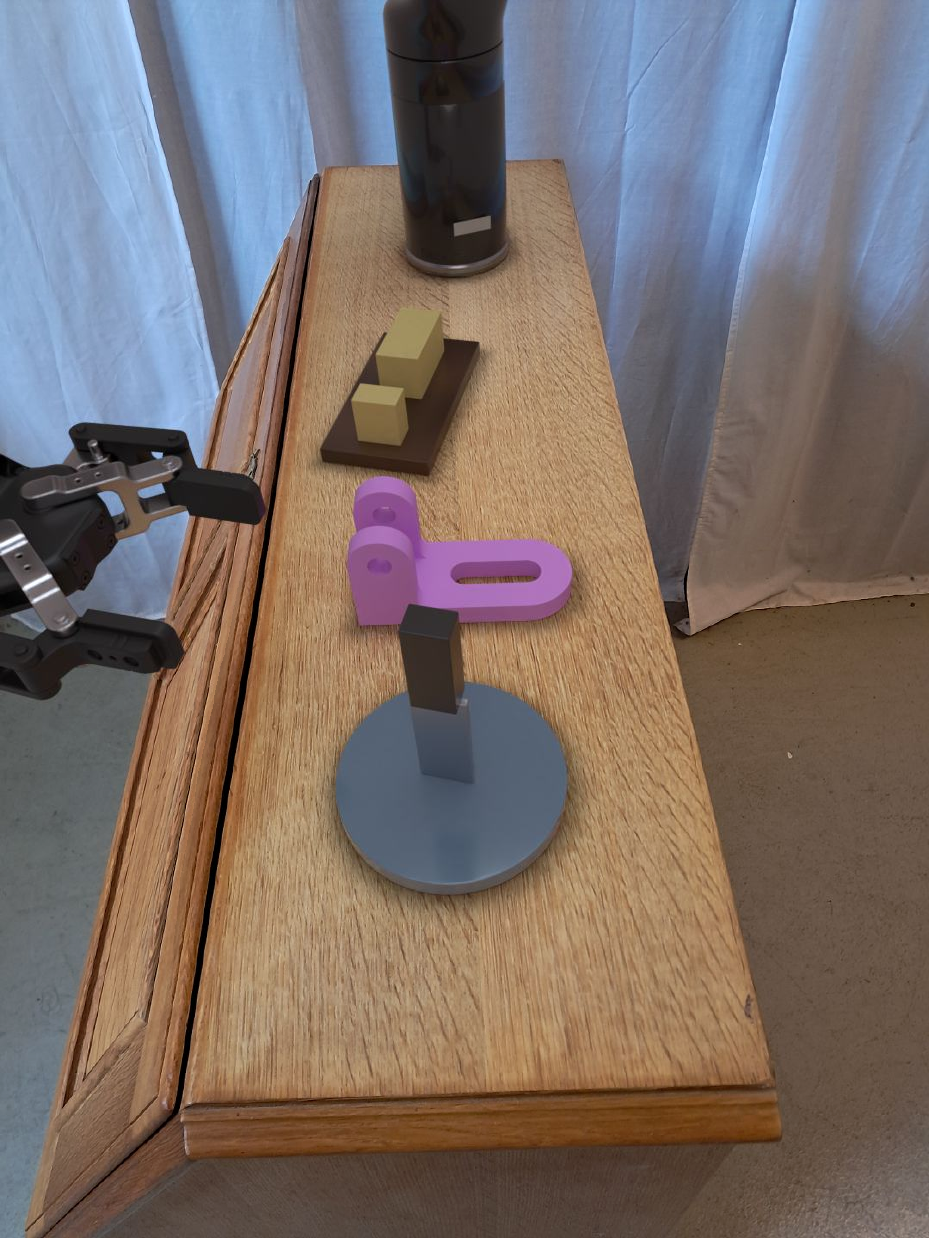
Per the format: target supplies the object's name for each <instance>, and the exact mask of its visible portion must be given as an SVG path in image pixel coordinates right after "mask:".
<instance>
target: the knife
mask: <svg viewBox="0 0 929 1238" xmlns="http://www.w3.org/2000/svg"><path fill="white" fill-rule="evenodd" d="M460 624H461V623H459V613H458V612H457V611H452V610H445V609H439V608H433V607H427V606H421V605H415V604H408V607H407V609H406V612H405V614H404V617H403V619H402V622H401V624H399V627H398V630H397V634H398V640H399V646H400V652H401V659H402V665H403V670H404V677H405V682H406V687H407V691H408V699H409V705H410V711H411V717H412V722H413V728H414V734H415V740H416V746H417V752H418V758H419V764H420V770H421V774H425V775H430V776H435V777H440V778H445V779H450V780H455V781H460V782H465V783H470V784H473V783H474V780H475V773H474V761H473V750H472V738H471V726H470V714H469V702H468V699H463V698H462V696H463V693H464V689H465V682H466V681H465V671H464V660H463V659H464V658H463V650H462V649H463V648H462V637H461V626H460Z"/></svg>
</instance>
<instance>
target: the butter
mask: <svg viewBox="0 0 929 1238" xmlns="http://www.w3.org/2000/svg"><path fill="white" fill-rule="evenodd" d="M387 332H388V333H387V334H386V336H385V338H384V340H383V342H382V344H381V345H380V347H379V349H378V351H377V353H376V362H377V369H378V376H379V382H380V386H388V387H397V388H404V395H405V398H414V399H422V398H423V396H424V393H425V391H426V389H427V387H428V385H429V383H430V381H431V378H432V376H433V374H434V372H435V370H436V368H437V366H438V363H439V361H440V359H441V357H442V355H443V353H444V339H443V338H444V328H443V315H442V310H435V309H426V308H425V309H423V308H416V307H415V308H414V307H402V306H401V307H400V309H399V310H398V313H397V314H396V316H395V317H394V320H393V322H392V323H391V325H390V327H389V329H388V330H387Z"/></svg>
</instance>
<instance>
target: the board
mask: <svg viewBox="0 0 929 1238" xmlns="http://www.w3.org/2000/svg"><path fill="white" fill-rule="evenodd" d="M387 333H388V331H383V333H382V335H381V337H380V339H379V340H378V342H377V344H376V346H375V347H374V349H373V350H372V352H371V354H370V356H369V359H368V360H367V362H366V364H365V365H364V368H363V369H362V371H361V373H360V375H359V377H358V378H357V380H356V381H355V384H354V386H353V388H352V389H351V391H350V392H349V395H348V397H347V398H346V400H345V402H344V404H343V406H342V407H341V409H340V411H339V412H338V414H337V417H336V418H335V420H334V422H333V424H332V426H331V428H330V430H329V431H328V433H327V435H326V437H325V438H324V439H323V442H322V443H321V446H320V448H319V452H320V456H321V457H320V458H321V461H322V462H323V463H330V464H337V465H344V466H353V467H359V468H360V467H361V468H367V469H375V470H381V471H382V470H383V471H390V472H395V473H405V474H413V475H421V476H427V477H428V476H430V474H431V471H432V469H433V467H434V465H435V462H436V459H437V457H438V456H439V453H440V450H441V448H442V446H443V443H444V441H445V439H446V436H447V434H448V431H449V429H450V426H451V424H452V422H453V419H454V417H455V415H456V412H457V410H458V407H459V405H460V403H461V400H462V399H463V396H464V393H465V391H466V389H467V386H468V383H469V381H470V379H471V377H472V375H473V371H474V369H475V368H476V365H477V363H478V360H479V358H480V355H481V348H480V345H481V344H480V341H477V340H466V339H455V338H447V337H443V339H444V353H443V355H442V357H441V359H440V361H439V363H438V366H437V368H436V370H435V372H434V374H433V376H432V378H431V381H430V383H429V385H428V387H427V389H426V391H425V393H424V396H423V398H422V399H414V398H405V403H406V411H407V420H408V428H409V429H408V431H407V433H406V435H405V438H404V440H403V442H402V444H401V446H397V445H389V444H381V443H373V442H365V441H358V437H357V431H356V425H355V420H354V414H353V408H352V403H351V400H352V398H353V396H354V394H355V392H356V390H357V389H358V387H359V385H360V384H370V385H379V386H380V382H379V376H378V369H377V362H376V353H377V351H378V349H379V347H380V345H381V344H382V342H383V340H384V338H385V336H386V334H387Z"/></svg>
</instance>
